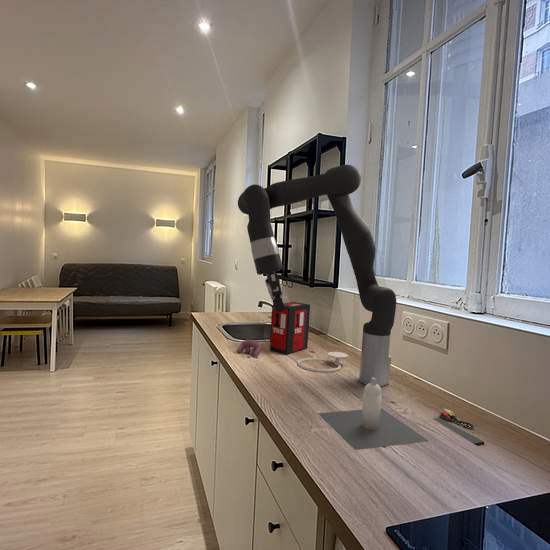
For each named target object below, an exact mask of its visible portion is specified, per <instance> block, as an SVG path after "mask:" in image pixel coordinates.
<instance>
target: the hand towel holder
mask: <svg viewBox="0 0 550 550" xmlns="http://www.w3.org/2000/svg"><path fill="white" fill-rule="evenodd" d="M327 355H328V357H330V358H334V359H335V360H333V359H329V358H322V357H304V358H301V359H298V360H297V363H296V365H297V366H298V368H301V369H303V370H306V371H311V372H316V373H317V372H318V373H334V372H338V371H340V369H341V368H342V366H341V363H340V359H346V358H348V357H349V355H348V353H345V352H340V351H329V352H327ZM305 361H322V362H329V363H332V364H334V365H335V366H337V367H335V368H331V369H330V368H329V369H323V368H312V367H308V366H306V365H305V366H304V365H302V364H301V363H302V362H305Z"/></svg>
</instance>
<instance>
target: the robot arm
mask: <svg viewBox="0 0 550 550" xmlns="http://www.w3.org/2000/svg"><path fill="white" fill-rule="evenodd" d="M361 182H362V175H361V173H360V171H359V169H358V168H357V167H356V166H354V165H352V164H341V165H338V166H334V167H331V168H329V169H327V170H326V171H325V173H321V174H317V175H312V176H306V177H300V178H294V179H286V180H282V181H278V182H273V183H271V184H269V185H268V186H266V187H263V186H262V185H259V184H251V185H248V186H247V187H246V188H245V189H244V191H243V192H242V193H241V194H240V195H239V197H238V199H237V207H238V209H239V211H240V212H241V213H243V214H244V215H247V217H248V222H247V226H246V228H247V234H248V238H249V243H250V249H251V254H252V259H253V262H254V267H255V271H256V274H257V275H259V276H260V275H266V279H265V281H264V282H265V286H266V287H267V291H268V294H269V296H270V299H271V300H272V305H274V309H275V311H276V312H282V311H284V310H285V309H284V305H283V303H284V302H283V291H282V286H281V285H282V284H281V279H280V276H278V275H279V274H278V273H277V271H281V270H283V263H282V258H281V254H280V251H279V246H278V243H277V241H276V238H275V233H274V231H273V227H272V224H271V223H272V222H271V210H272V209H274V208H278V207H285V206H289V205H292V204H296V203H297V204H298V203H300V202H304V201H307V200H311V199H314V198H317V197H322V196H326V197H327V198H328V201H329V202H330V205H331V207H332V209H333V212H334V215H335V217H336V222H337V223H338V227H339V230H340V232H341V235H342V239H343V243H344V246H345V250H346V252H347V255H348V257H349V260H350V263H351V267H352V270H353V274H354V276H355V280H356V286H357V289H358V294H359V299H360V303H361V305H362V307H363V308H364V309H365V310H367V312H370V313H371V319H370V320H369V321H367V322H364V323H363V326H362V336H361V337H362V339H361V350H360V351H361V352H360V365H359V377H358V378H359V379H358V381H359V382H360V383H361V384H364V385H365V386H366V385H367V384H369V383H371V378H372V377H373V378H375V379H377V384H378V385H379V386H380V387H384V385H385V386H386V385H389V384H390V378H391V377H390V376H391V365H392V364H391V363H392V356H390V344H391V342H390V341H391V331H392V329H393V326H394V324H395V317H396V311H397V296H396V293H395V292H394V290H393V289H392V288H390V287H386V286H381V285H379V284H378V281H377V278H376V275H375V270H374V264H375V258H376V244H375V240H374V237H373V234H372V231H371V228H370V227H369V225H368V224H367V222H366V221H365V220H364V219H363V218H362V216H361V214H359V213H358V211H357V210H356V208H355V207H354V203H353V201H352V199H351V196H350V194H351V195H352V194H353V193H355V192H356V191H357V190H358V189H359V188H360V185H361Z"/></svg>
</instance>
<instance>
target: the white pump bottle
mask: <svg viewBox="0 0 550 550" xmlns="http://www.w3.org/2000/svg"><path fill="white" fill-rule="evenodd" d="M382 392H383V390H382V388H381V386H379V385H378V384H377V379H375V378H373V377H372V378H371V383H369V384H367V385H366V384H365V387H364V389H363V395H362V396H363V397H362V409H361V410H362V422H361V426H362V427H363V428H365V429H368V430H377V429H379V422H380V409H381V408H382V395H383V393H382Z"/></svg>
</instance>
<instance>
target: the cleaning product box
mask: <svg viewBox="0 0 550 550" xmlns="http://www.w3.org/2000/svg"><path fill="white" fill-rule="evenodd" d="M283 305H284V309H285V310H284V311H282V312H276V311H275V309H274V305H273V304H272V306H271V320H270V321H271V322H270V334H269V336H270V338H269V339H270V340H269V352H271V353H276V354H279V355H285V356H289V355H292V354H296V353H298V352H301V351H304V350H307V349H308V346H309V345H308V344H309V328H310V314H311V311H310V310H311V303H310V304H309V303H304V302H297V301H291V302H283Z"/></svg>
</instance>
